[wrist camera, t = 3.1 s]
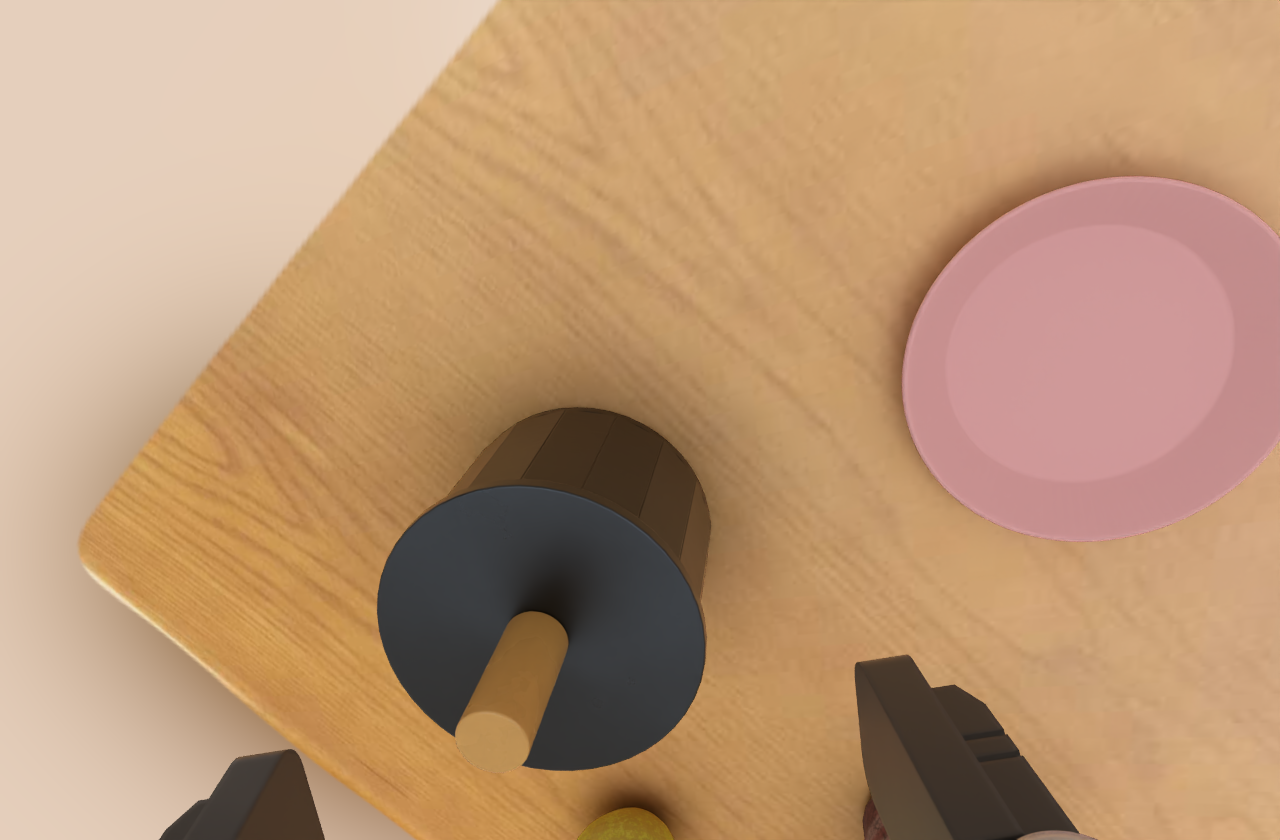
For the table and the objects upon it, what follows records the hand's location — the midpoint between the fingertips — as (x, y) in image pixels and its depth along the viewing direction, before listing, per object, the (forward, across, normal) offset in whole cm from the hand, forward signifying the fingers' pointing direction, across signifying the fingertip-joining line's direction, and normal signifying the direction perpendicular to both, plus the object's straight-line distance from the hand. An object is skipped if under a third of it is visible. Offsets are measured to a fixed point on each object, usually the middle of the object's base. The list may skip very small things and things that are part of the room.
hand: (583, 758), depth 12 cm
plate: (+23, -19, +2) cm, 30 cm away
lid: (+19, +3, +8) cm, 21 cm away
